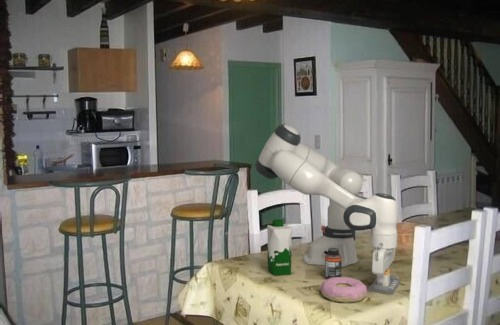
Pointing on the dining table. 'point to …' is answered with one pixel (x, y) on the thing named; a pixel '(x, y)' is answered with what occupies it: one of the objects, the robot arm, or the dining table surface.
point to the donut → (343, 289)
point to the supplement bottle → (332, 263)
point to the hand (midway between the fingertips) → (383, 279)
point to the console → (385, 289)
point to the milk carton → (279, 248)
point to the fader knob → (387, 279)
